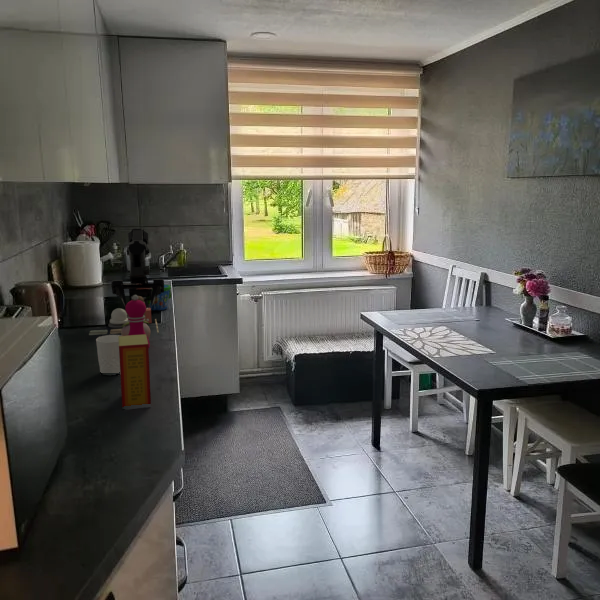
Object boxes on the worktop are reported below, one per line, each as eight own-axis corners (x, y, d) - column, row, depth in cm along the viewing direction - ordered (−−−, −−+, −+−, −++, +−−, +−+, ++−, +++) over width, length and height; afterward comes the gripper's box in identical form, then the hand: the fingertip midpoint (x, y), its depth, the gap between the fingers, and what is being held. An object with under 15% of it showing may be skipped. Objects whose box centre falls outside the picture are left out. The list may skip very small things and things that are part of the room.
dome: (110, 321, 204) (109, 307, 203) (129, 320, 206) (128, 306, 204) (109, 325, 197) (108, 310, 196) (129, 324, 199) (128, 309, 198)
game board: (88, 325, 205) (88, 321, 205) (156, 321, 212) (156, 317, 212) (84, 339, 186) (83, 334, 186) (158, 334, 194) (158, 330, 193)
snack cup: (162, 304, 244) (161, 282, 242) (180, 307, 239) (179, 284, 237) (136, 311, 231) (135, 287, 229) (155, 313, 226) (154, 289, 224)
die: (137, 321, 209) (137, 308, 208) (151, 320, 210) (150, 307, 209) (137, 324, 204) (137, 310, 203) (151, 323, 205) (151, 310, 204)
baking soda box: (121, 396, 136) (118, 334, 132) (148, 393, 138) (145, 332, 134) (122, 410, 127) (118, 344, 124) (151, 407, 129) (148, 342, 126)
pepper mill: (125, 363, 161) (121, 297, 157) (126, 356, 168) (122, 293, 164) (150, 361, 163) (147, 296, 159) (150, 354, 170) (147, 292, 166)
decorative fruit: (131, 353, 170) (130, 323, 168) (117, 348, 176) (116, 318, 174) (157, 347, 177) (156, 318, 175) (143, 342, 183) (141, 314, 181)
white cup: (130, 368, 157) (129, 334, 155) (123, 377, 149) (121, 342, 147) (103, 368, 157) (101, 334, 155) (94, 377, 149) (91, 342, 147)
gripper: (110, 258, 196) (109, 294, 188) (163, 257, 201) (164, 292, 193) (112, 276, 206) (112, 311, 197) (163, 275, 210) (165, 308, 202)
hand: (138, 305), depth 197 cm, fingers open, 9 cm apart
